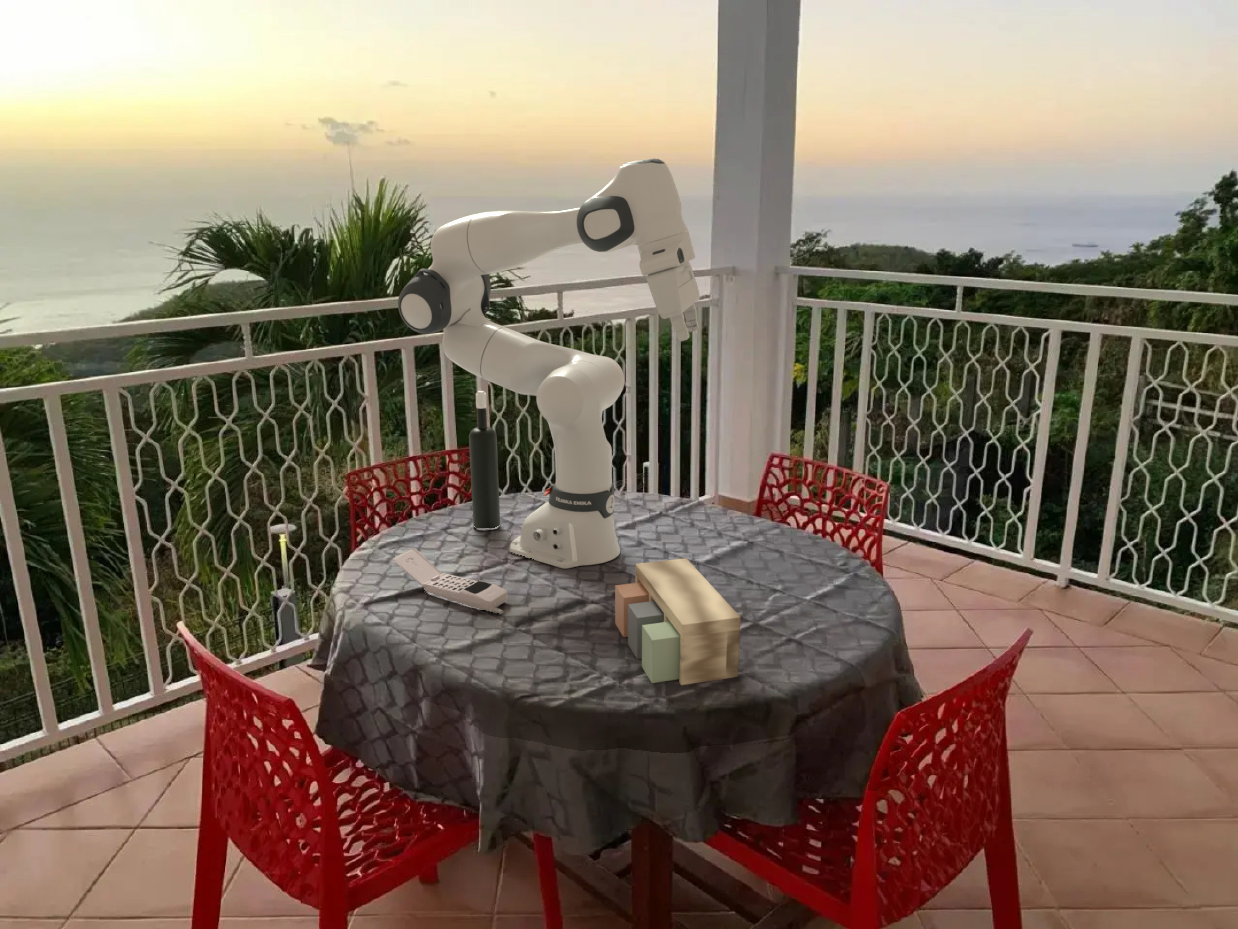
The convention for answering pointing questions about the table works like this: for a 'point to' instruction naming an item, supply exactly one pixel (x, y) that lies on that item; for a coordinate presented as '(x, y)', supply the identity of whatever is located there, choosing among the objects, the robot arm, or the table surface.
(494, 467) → the wine bottle
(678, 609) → the key console
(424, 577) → the mobile phone
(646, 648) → the sage key
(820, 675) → the table surface
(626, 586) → the terracotta key
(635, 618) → the slate key
